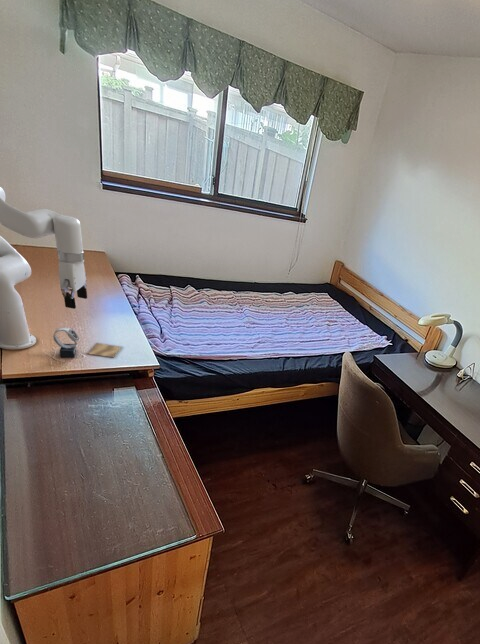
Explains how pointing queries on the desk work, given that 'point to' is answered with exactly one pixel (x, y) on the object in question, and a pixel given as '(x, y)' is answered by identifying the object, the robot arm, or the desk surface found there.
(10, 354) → the desk surface
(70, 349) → the watch
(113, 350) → the brown wooden square tile
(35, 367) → the desk surface
